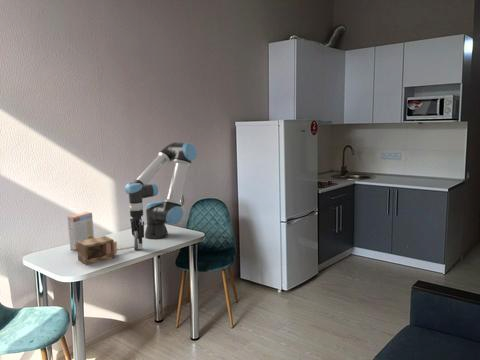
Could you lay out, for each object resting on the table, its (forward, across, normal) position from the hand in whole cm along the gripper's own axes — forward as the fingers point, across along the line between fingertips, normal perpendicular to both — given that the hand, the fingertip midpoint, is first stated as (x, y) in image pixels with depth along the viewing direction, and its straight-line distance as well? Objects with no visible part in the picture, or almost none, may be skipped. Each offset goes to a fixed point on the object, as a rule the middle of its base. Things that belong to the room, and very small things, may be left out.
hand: (138, 247), depth 253 cm
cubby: (+1, 0, -26) cm, 26 cm away
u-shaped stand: (0, 0, -10) cm, 10 cm away
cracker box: (+1, -29, -23) cm, 37 cm away
